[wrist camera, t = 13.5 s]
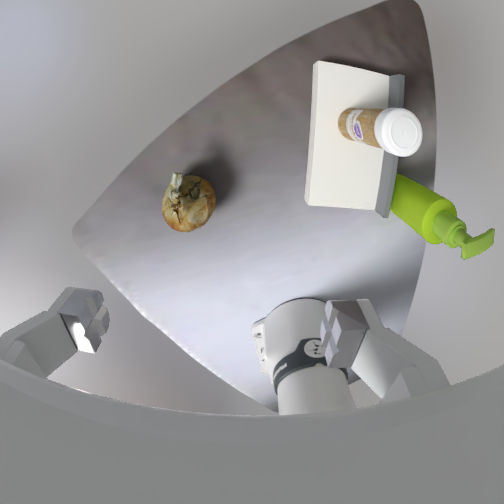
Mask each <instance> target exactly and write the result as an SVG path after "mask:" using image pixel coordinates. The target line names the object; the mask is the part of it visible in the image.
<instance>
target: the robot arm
mask: <svg viewBox="0 0 504 504" xmlns="http://www.w3.org/2000/svg"><path fill="white" fill-rule="evenodd" d="M103 302H104V298H103V295H102V293H101V292H100V291H98V290H90V289H82V288H74V287H68V288H66V289H65V290H64V291H63V292H62V294H61V295H60V296H59V297H58V298H57V300H56V301H55V302H54V303H53V305H52V306H51V307H50V309H49V310H48V311H43V312H41V313H39V314H38V315H36V316H34V317H32V318H30V319H29V320H27V321H25V322H23V323H21V324H19V325H17V326H16V327H14V328H12V329H10V330H8V331H7V332H5V333H3V334H2V336H1V337H0V504H504V365H502V366H500V367H498V368H495V369H493V370H491V371H489V372H486V373H484V374H481V375H479V376H476V377H474V378H471V379H468V380H466V381H463V382H460V383H457V384H455V385H450V383H449V381H448V379H447V378H446V376H445V374H444V372H443V370H442V368H441V366H440V364H439V363H438V361H437V360H436V359H434V358H433V357H431V356H430V355H428V354H427V353H425V352H424V351H422V350H421V349H419V348H418V347H416V346H415V345H413V344H412V343H410V342H409V341H407V340H406V339H404V338H402V337H401V336H400V335H398V334H397V333H395V332H394V331H392V330H391V329H389V328H384V326H383V324H382V322H381V320H380V318H379V316H378V315H377V313H376V311H375V309H374V307H373V305H372V303H371V302H370V300H369V299H355V300H328V301H327V303H324V302H322V301H319V300H315V299H298V300H293V301H290V302H287V303H284V304H282V305H280V306H279V307H277V308H276V309H274V310H273V311H272V312H271V313H270V314H269V315H268V316H267V317H266V318H265V319H262V320H260V321H258V322H256V323H254V324H253V325H252V327H251V328H252V334H253V338H254V342H255V346H256V351H257V355H258V359H259V363H260V367H261V371H262V373H264V374H267V375H270V379H271V383H272V385H273V386H274V389H275V392H276V394H277V396H278V406H279V415H265V416H264V415H262V416H254V415H253V416H252V415H249V416H248V415H222V414H207V413H196V412H195V413H194V412H186V411H178V410H169V409H163V408H157V407H150V406H145V405H140V404H134V403H130V402H124V401H120V400H116V399H112V398H107V397H103V396H99V395H95V394H92V393H88V392H85V391H81V390H78V389H75V388H72V387H68V386H65V385H62V384H59V383H56V382H54V381H51V380H48V378H47V377H48V376H49V375H50V374H51V373H52V372H53V371H54V370H56V369H57V368H58V367H59V366H61V364H63V363H64V362H65V361H66V360H68V359H69V358H70V357H71V356H73V355H74V354H75V353H76V352H77V350H79V351H84V352H89V353H96V351H97V349H98V347H99V345H100V343H101V337H100V336H102V335H103V334H105V333H106V332H107V329H108V327H109V321H110V319H109V313H108V310H107V308H106V307H105V306H104V305H103ZM347 367H351V369H352V370H353V371H354V372H355V373H356V374H357V375H358V376H359V377H360V378H361V379H362V380H364V382H365V383H366V384H367V385H368V386H369V387H370V388H371V389H372V390H373V391H374V392H375V393H376V394H377V395H378V396H379V397H381V399H382V401H381V402H380V403H379V404H378V405H372V406H367V407H361V408H356V406H355V403H354V400H353V398H352V395H351V392H350V389H349V386H348V382H347V380H348V373H347Z"/></svg>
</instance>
